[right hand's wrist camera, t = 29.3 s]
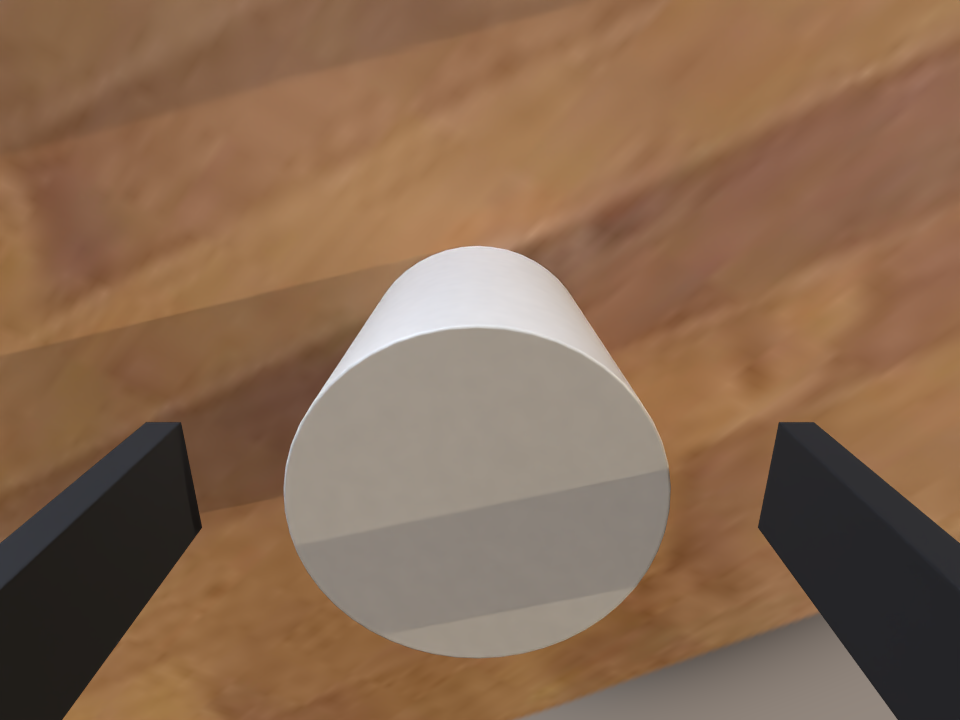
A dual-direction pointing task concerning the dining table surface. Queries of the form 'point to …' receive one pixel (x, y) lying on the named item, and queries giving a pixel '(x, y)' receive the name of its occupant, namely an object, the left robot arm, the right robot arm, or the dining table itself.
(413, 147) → the dining table surface
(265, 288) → the dining table surface
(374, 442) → the cylinder
